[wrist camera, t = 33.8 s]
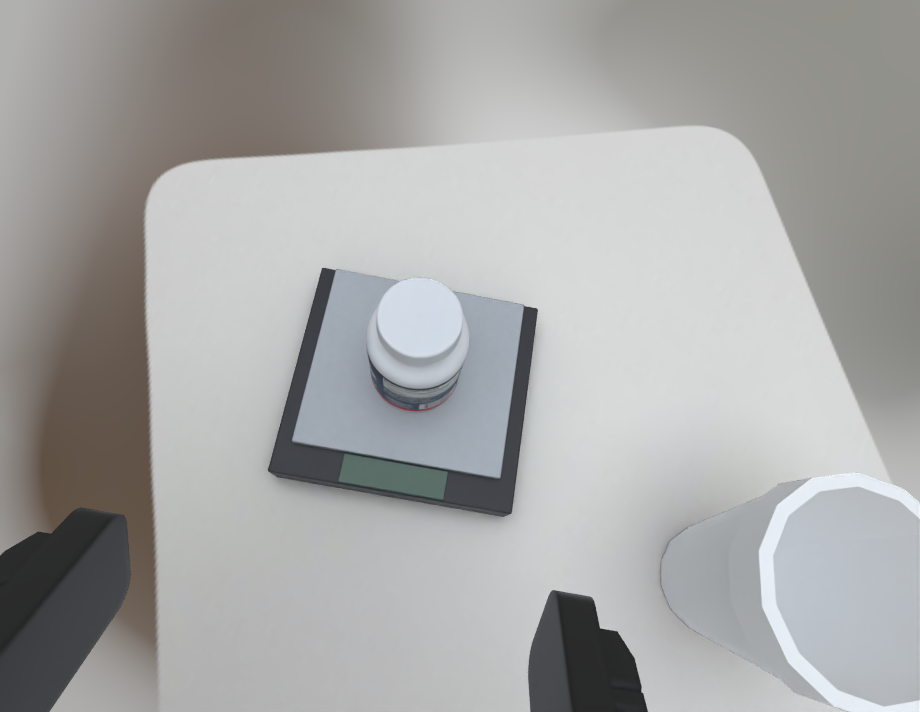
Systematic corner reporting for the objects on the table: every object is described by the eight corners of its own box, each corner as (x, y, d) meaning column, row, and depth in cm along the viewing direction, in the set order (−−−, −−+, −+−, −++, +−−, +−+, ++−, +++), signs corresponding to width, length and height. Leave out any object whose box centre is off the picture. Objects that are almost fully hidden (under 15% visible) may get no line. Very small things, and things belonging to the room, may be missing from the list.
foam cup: (604, 578, 36) (713, 591, 23) (694, 469, 38) (834, 428, 26) (728, 701, 34) (913, 783, 22) (812, 578, 37) (1019, 589, 25)
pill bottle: (382, 321, 36) (377, 251, 28) (466, 339, 36) (486, 275, 28) (361, 404, 35) (349, 356, 26) (449, 423, 35) (466, 380, 26)
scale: (275, 476, 36) (265, 469, 33) (326, 283, 40) (321, 262, 37) (504, 516, 36) (513, 513, 33) (530, 322, 41) (540, 304, 38)
